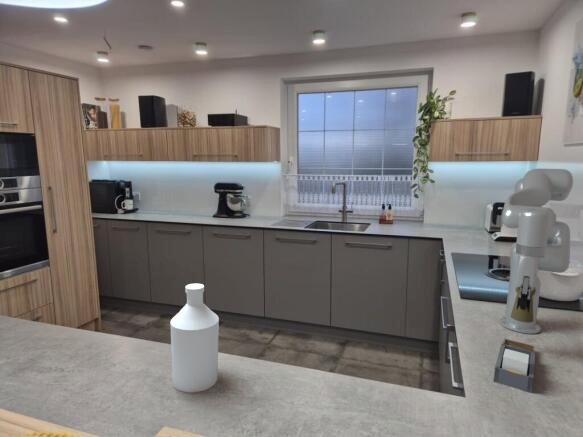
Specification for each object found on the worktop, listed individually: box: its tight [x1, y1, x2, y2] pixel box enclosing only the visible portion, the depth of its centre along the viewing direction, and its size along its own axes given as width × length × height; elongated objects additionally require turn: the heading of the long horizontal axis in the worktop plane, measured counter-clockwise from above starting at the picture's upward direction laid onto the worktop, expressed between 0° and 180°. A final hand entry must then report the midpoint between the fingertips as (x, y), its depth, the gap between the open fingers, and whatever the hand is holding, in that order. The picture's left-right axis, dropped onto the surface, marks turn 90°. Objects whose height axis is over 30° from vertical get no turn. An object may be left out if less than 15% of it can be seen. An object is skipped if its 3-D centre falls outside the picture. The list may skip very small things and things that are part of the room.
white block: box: [502, 349, 529, 376], centre depth 99 cm, size 6×6×7 cm
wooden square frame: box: [502, 338, 536, 352], centre depth 114 cm, size 8×8×2 cm
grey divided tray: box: [493, 343, 536, 394], centre depth 103 cm, size 17×9×4 cm, turn 145°
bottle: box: [170, 283, 220, 393], centre depth 94 cm, size 12×12×25 cm
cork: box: [511, 286, 536, 323], centre depth 112 cm, size 6×6×11 cm
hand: (523, 308), depth 113 cm, fingers closed on cork, 3 cm apart
